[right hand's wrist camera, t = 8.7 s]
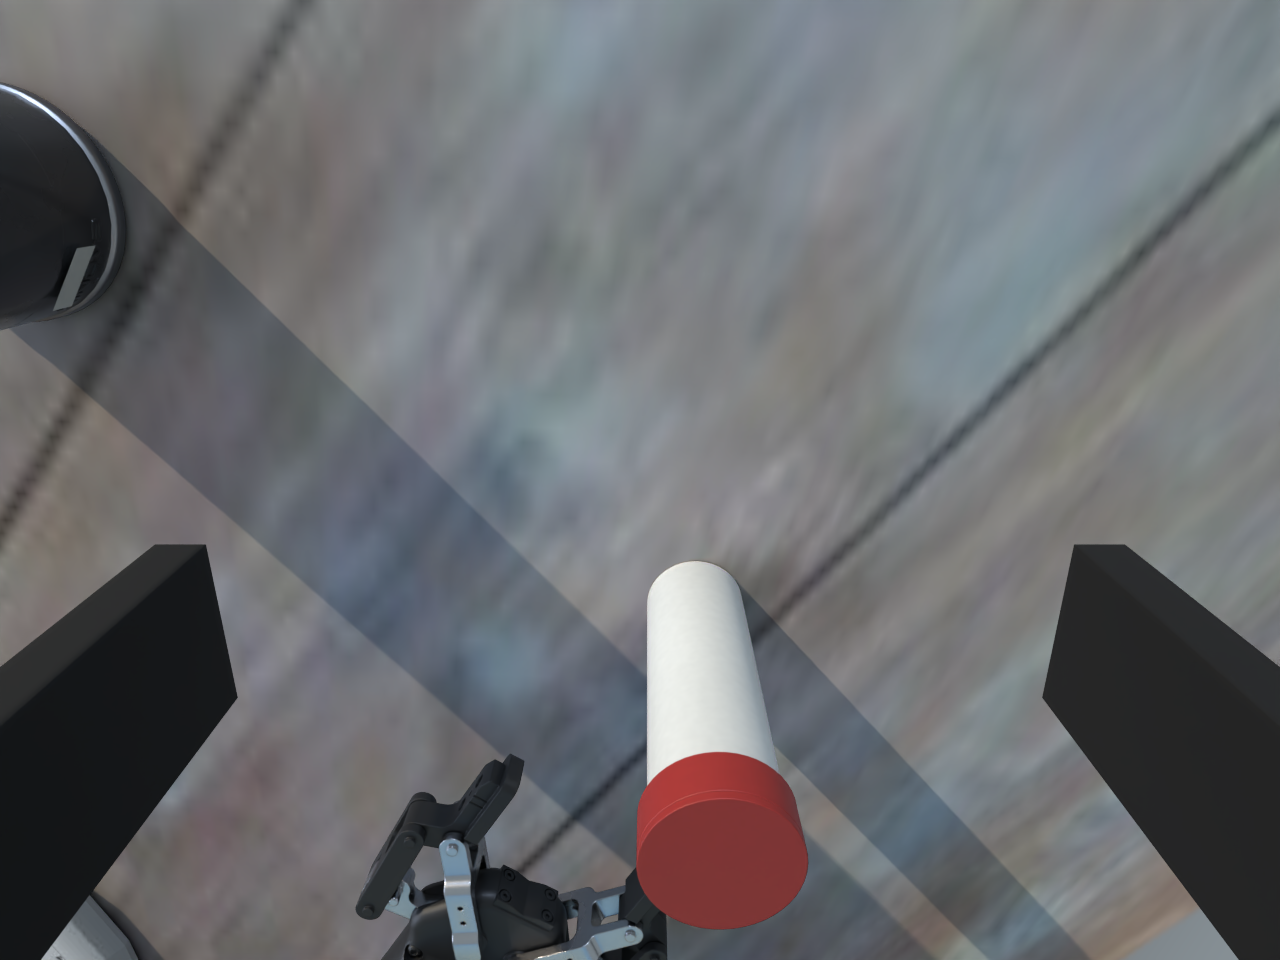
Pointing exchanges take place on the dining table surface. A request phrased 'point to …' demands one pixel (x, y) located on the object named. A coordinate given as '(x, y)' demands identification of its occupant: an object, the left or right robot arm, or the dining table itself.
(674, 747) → the white cylinder
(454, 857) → the left robot arm
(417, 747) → the dining table surface
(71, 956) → the wall clock
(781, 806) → the lid
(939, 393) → the dining table surface
